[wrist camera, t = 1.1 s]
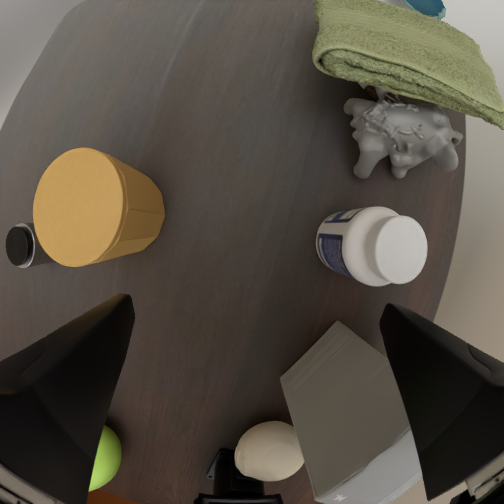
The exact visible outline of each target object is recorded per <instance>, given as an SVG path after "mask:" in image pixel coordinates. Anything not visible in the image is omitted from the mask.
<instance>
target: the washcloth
mask: <svg viewBox="0 0 504 504" xmlns="http://www.w3.org/2000/svg"><path fill="white" fill-rule="evenodd" d="M314 4H315V10H316V16H315V18H316V20H315V21H317V24H319V32H318V33H317V37H316V40H315V42H314V43H315V44H314V49H313V51H312V60H313V63H314V65H315V66H316V67H317V68H318V69H319V70H320V71H322V72H324V73H326V74H328V75H330V76H333V77H337V78H343V79H345V80H347V81H355V82H359V83H368V84H371V85H374V86H377V87H381V88H385V89H387V90H388V91H389V92H391V93H394V94H399V95H403V96H407V97H410V98H415V99H420V100H424V101H428V102H431V103H435V104H438V105H441V106H444V107H447V108H450V109H453V110H455V111H457V112H463V113H465V114H467V115H471V116H474V117H481V118H482V119H483V120H484V121H485V122H489V123H490V124H493V125H496V126H498V127H500V129H501V130H504V103H503V101H502V98H501V96H500V94H499V91H498V89H497V87H496V83H495V77H494V74H493V71H492V69H491V67H490V66H489V65H488V64H487V63H486V62H485V60H484V59H483V56H482V54H481V51H480V47H479V45H478V44H476V43H475V41H474V40H473V39H471V38H470V37H469V36H467V35H466V34H464V33H462V32H460V31H459V30H457V29H456V28H454V27H452V26H450V25H449V24H448V23H445V22H443V21H440V20H439V19H436V18H433V17H430V16H427V15H424V14H422V13H418V12H415V11H414V10H409V9H407V8H400V7H397V6H394V5H391V4H387V3H385V2H381V1H379V0H314Z"/></svg>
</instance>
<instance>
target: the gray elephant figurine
mask: <svg viewBox="0 0 504 504" xmlns="http://www.w3.org/2000/svg"><path fill="white" fill-rule="evenodd" d="M375 89H376V92H377V95H378V97H379V100H378V101H377V102H374V101H368V100H364V99H359V98H350V99H349V100H347V102H346V103H345V105H344V112H345V113H346V114H348V115H353V120H352V121H351V123H350V125H351V126H352V127H354V128H356V131H354V132H353V134H352V136H353V138H354V139H355V140H356V141H357V142H358V146H359V150H360V157H359V160H358V163H357V164H356V165H355V166H354V174H355V175H356V176H357V177H358V178H361V179H366V178H368V177H369V176H370V174H371V172H372V170H373V168H374V167H375V165H376V164H377V162H378V161H379V160H381V159H382V158H384V157H386V156H387V155H390V159H391V163H392V166H391V172H392V174H393V175H394V176H395V177H396V178H398V179H401V178H403V177H404V176H405V175H406V173H407V170H408V169H410V168H412V167H414V166H416V165H418V164H420V163H421V162H423V161H425V160H427V159H429V158H431V157H433V158H434V160H435V162H436V164H437V165H438V167H439V168H440V169H441V170H443V171H445V172H451V171H453V170H455V169H456V168H457V166H458V157H457V154H456V151H455V147H454V146H456V145H457V144H458V143H460V141H461V139H462V138H463V135H462V134H461V133H459V132H457V131H456V130H453V129H452V128H451V125H450V122H449V118H448V116H447V115H446V114H445V113H444V111H443V106H441V105H438V104H435V103H431V102H428V101H424V100H423V103H422V104H419V105H417V106H416V104H404V103H403V102H401V101H400V99H399V97H398V94H394V93H393V95H394V96H395V101H394V103H392V102H391V101H390V100H389V99H388V100H387V101H386V100H385V99H384V98H385V96H386V94H387V93H389V91H388V90H387V89H385V88H381V87H377V86H375Z"/></svg>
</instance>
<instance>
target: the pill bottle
mask: <svg viewBox="0 0 504 504" xmlns="http://www.w3.org/2000/svg"><path fill="white" fill-rule="evenodd" d="M316 249H317V253H318V255H319V258H320V259H321V261H322V262H323V263H324V264H325V265H326V266H327V267H328V268H330V269H331V270H333V271H335V272H338V273H340V274H343V275H345V276H347V277H350V278H352V279H354V280H356V281H359V282H361V283H363V284H366V285H370V286H384V285H387V284H390V283H395V284H404V283H407V282H410V281H411V280H413V279H414V278H415V277H416V276H417V275H418V274H419V273H420V272H421V270H422V268H423V266H424V264H425V261H426V257H427V240H426V236H425V233H424V231H423V229H422V228H421V226H420V225H419V223H417V222H416V221H415V220H414V219H412V218H410V217H408V216H400V215H399V214H397V213H396V212H395V211H393V210H391V209H389V208H385V207H366V208H360V209H353V210H347V211H341V212H337V213H334V214H332V215H330V216H329V217H327V218H326V219H325V220H324V221H323V222H322V224H321V225H320V227H319V229H318V232H317V236H316Z"/></svg>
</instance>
